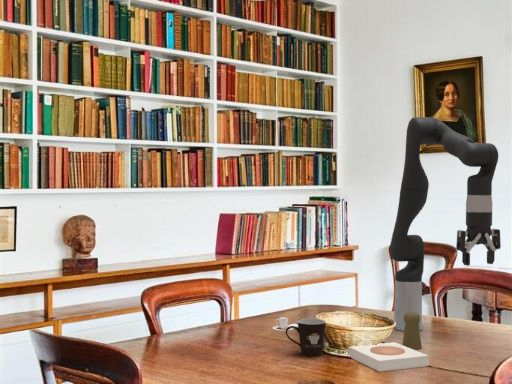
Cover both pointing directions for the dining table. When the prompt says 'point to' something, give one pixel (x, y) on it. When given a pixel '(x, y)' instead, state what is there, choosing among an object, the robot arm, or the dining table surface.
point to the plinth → (388, 356)
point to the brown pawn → (412, 331)
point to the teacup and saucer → (284, 324)
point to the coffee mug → (310, 336)
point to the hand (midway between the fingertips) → (478, 264)
